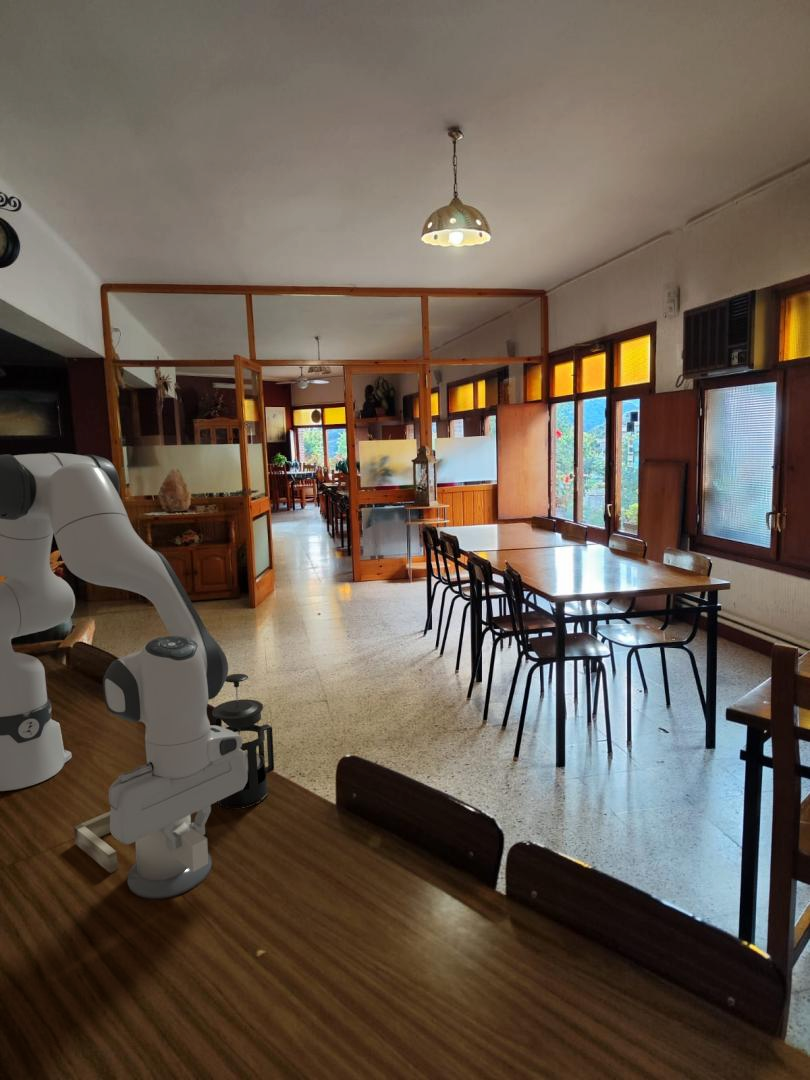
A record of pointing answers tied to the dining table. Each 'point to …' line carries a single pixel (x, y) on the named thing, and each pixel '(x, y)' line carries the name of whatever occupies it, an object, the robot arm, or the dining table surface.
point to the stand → (97, 841)
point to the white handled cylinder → (171, 852)
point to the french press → (247, 745)
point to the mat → (167, 882)
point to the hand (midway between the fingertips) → (186, 841)
